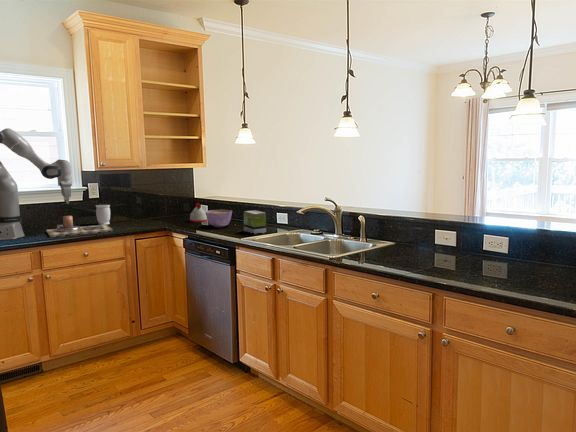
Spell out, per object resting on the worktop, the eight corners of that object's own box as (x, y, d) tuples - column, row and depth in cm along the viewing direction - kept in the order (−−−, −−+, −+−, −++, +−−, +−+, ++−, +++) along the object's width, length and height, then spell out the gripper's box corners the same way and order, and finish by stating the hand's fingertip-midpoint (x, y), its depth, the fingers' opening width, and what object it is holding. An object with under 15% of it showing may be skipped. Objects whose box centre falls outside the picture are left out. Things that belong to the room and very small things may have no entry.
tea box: (243, 231, 313) (243, 211, 311) (255, 230, 319) (255, 209, 317) (254, 234, 301) (254, 213, 299) (266, 233, 307) (266, 212, 305)
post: (58, 233, 300) (57, 226, 299) (55, 229, 312) (55, 223, 311) (82, 230, 308) (81, 224, 307) (78, 227, 320) (78, 221, 320)
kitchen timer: (193, 223, 351) (192, 204, 348) (187, 220, 362) (186, 202, 360) (209, 221, 358) (209, 203, 356) (203, 219, 370) (202, 201, 367)
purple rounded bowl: (227, 223, 347) (226, 209, 345) (236, 227, 330) (236, 212, 328) (202, 225, 338) (202, 210, 336) (210, 229, 320) (210, 214, 319)
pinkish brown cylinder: (60, 228, 304) (59, 217, 303) (59, 227, 309) (58, 216, 308) (73, 227, 309) (73, 216, 308) (72, 226, 314) (71, 215, 313)
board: (50, 237, 292) (49, 234, 292) (46, 231, 312) (46, 229, 312) (113, 231, 314) (112, 228, 314) (106, 226, 334) (105, 224, 334)
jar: (93, 224, 343) (92, 205, 341) (104, 222, 352) (103, 204, 350) (103, 225, 338) (102, 206, 336) (114, 223, 348) (112, 204, 345)
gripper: (58, 182, 312) (59, 201, 314) (61, 184, 295) (63, 204, 297) (68, 182, 315) (69, 201, 317) (72, 183, 298) (73, 203, 301)
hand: (66, 202), depth 307 cm, fingers open, 8 cm apart
